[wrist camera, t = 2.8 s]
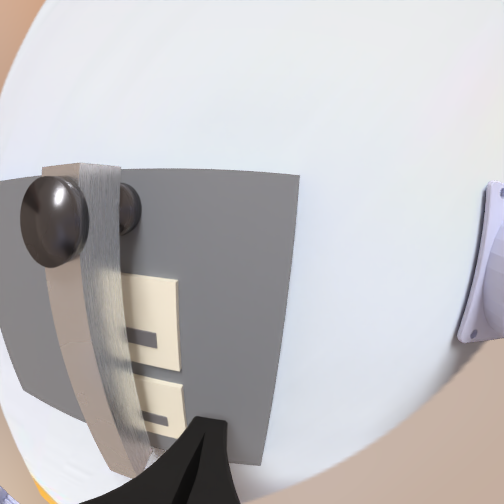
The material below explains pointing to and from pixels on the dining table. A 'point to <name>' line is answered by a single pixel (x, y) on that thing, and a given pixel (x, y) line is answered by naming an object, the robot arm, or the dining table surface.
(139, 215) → the metal dome
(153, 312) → the label near
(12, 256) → the board
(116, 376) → the lever
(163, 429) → the cream flat block
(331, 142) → the dining table surface
